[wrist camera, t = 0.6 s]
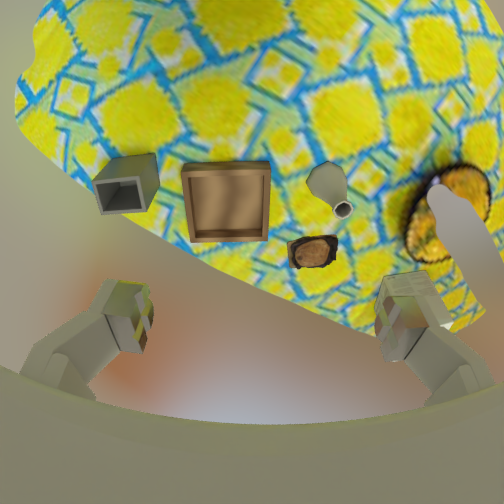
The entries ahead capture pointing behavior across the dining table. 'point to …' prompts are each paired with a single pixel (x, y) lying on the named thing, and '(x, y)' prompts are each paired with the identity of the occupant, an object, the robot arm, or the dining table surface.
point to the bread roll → (312, 251)
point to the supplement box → (414, 293)
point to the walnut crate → (227, 200)
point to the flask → (331, 188)
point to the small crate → (127, 184)
